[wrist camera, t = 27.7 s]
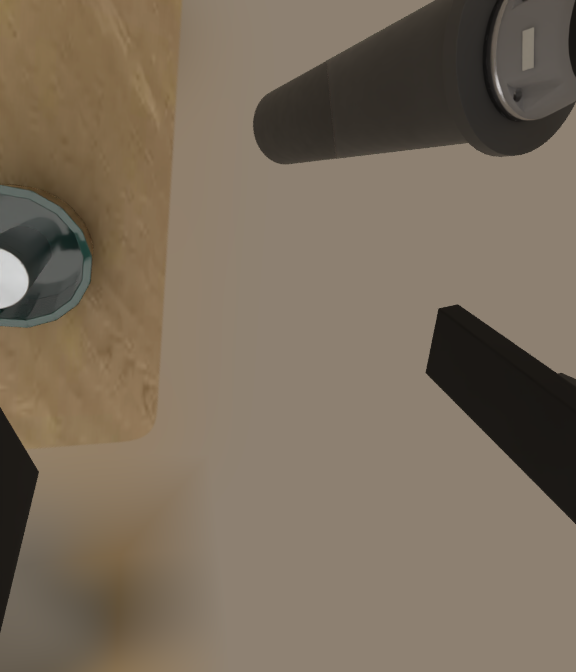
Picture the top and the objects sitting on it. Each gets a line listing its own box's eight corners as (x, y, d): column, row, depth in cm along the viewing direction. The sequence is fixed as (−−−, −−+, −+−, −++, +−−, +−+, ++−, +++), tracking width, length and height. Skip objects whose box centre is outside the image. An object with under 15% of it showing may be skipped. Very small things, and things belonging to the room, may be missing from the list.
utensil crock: (68, 175, 33) (61, 173, 27) (108, 286, 37) (110, 305, 31) (-70, 198, 30) (-113, 201, 24) (-10, 316, 34) (-33, 344, 28)
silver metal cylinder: (40, 222, 32) (13, 238, 22) (58, 265, 34) (39, 299, 23) (-10, 231, 31) (-64, 253, 21) (10, 276, 33) (-31, 316, 22)
